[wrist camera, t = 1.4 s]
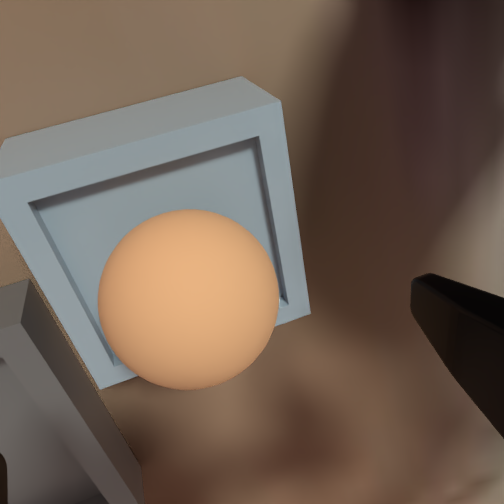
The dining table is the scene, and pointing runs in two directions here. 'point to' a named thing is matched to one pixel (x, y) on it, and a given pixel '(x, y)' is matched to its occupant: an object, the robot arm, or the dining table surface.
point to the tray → (55, 415)
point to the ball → (188, 299)
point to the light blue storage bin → (148, 195)
